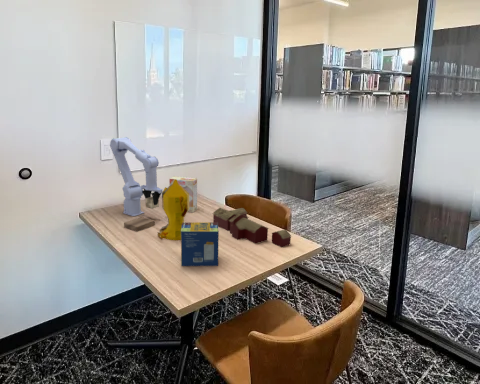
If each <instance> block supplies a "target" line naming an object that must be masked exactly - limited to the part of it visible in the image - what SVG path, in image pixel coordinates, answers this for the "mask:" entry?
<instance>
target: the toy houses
mask: <svg viewBox="0 0 480 384" xmlns="http://www.w3.org/2000/svg"><path fill="white" fill-rule="evenodd" d="M212 215H213V222H218V228H221V229H223V230H225V231H227V232H228V231H229V234H230V235H231V238H233V239H235V240H237V241H239V240H242V239H245V240H247V241H248V242H250V243H253V244H255V245H256V244H259V243H262V242H266V241H268V236H269V233H268V232H269V229H270V228H269V227H267V226H264V225H262V224H260V223H257V222H256V221H254V220H251V219H249V218H250V217H249V216H248V212H247V211H246V209H245V208H244V207H241V208H236V209H231V210H227V209H225V208H222V207H219V208H217V209H216V210H215V211H213V213H212ZM291 238H292V234H290V232H288V230H287V229H282V230H277V231H273V232H271V244H273V245H276V246H278V247H279V248H283V247H287V246H289V244H290V245H291Z"/></svg>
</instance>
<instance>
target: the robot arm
mask: <svg viewBox="0 0 480 384" xmlns="http://www.w3.org/2000/svg"><path fill="white" fill-rule="evenodd" d="M109 146H110V150H111V153H112V154H113V156H114V159H115V161H116V162H115V163H116V164H117V167H118V169H119V172H120V173H121V177H122V179H123V182H124V185H123V187H122V191H123V197H124V200H123V212H122V213H123V214H125V215H127V216H128V215H129V216H130V217H131V216H132V217H136V216H139V215H142V214H144V213H145V212H144V211H142V210H141V209H142V208H141V207H142V206H141V198H142V196H144V198H149V197H153V203H154V205H157V204H158V200H159V199H160V196H162V192H163V189H162V188H160V187H158V179H157V176H158V175H157V168H158V167H159V163H160V162H159V160H158V158H157V157H156V156H151V155H150V154H149V153H147V152H146V151H145V150H144V149H139V148H138V147H137V146H136V145H135V144H134V143H133V142H132V140H131V139H130V138H129V137H127V136H125V137H119V138H117V137H116V138H114V137H113V138H111V140H110V143H109ZM127 152H131V154H133V155H135V156H134V157H135V159H136V160H138V161H139V162H140V163H141V164H142V166H143V168H144V172H145V184H143V185H141V184H140V183H139V182H138V181H135V178H134V175H133V174H132V171H131V168H130V166H129V164H128V160H127V158H126V154H127ZM159 201H160V200H159Z"/></svg>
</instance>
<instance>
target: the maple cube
mask: <svg viewBox="0 0 480 384" xmlns="http://www.w3.org/2000/svg"><path fill="white" fill-rule="evenodd" d="M144 198H145V197H144ZM144 200H145V208H147V209H151V210H153V209H156V208H159V207H160V202H159V201H160V200H158V204H157V205H154V203H153V197H152V196H151V197H149V198H145V199H144Z"/></svg>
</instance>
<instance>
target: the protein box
mask: <svg viewBox="0 0 480 384" xmlns="http://www.w3.org/2000/svg"><path fill="white" fill-rule="evenodd" d="M219 231H220V230H219V226H218V222H206V221H205V222H203V221H202V222H201V221H200V222H198V221H197V222H185V221H184V222H183V223H182V228H181V240H180V241H181V242H180V261H181V263H180V265H181V267H218V266H219V243H220V242H219V238H220V237H219V234H220V233H219Z"/></svg>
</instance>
